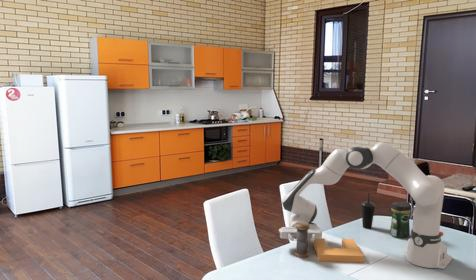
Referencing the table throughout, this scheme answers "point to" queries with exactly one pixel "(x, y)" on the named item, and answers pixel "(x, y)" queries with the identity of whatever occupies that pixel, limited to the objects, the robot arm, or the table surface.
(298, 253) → the cord spool
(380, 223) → the table surface
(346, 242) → the orange notched slab
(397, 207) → the coffee jar
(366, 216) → the drinking cup
